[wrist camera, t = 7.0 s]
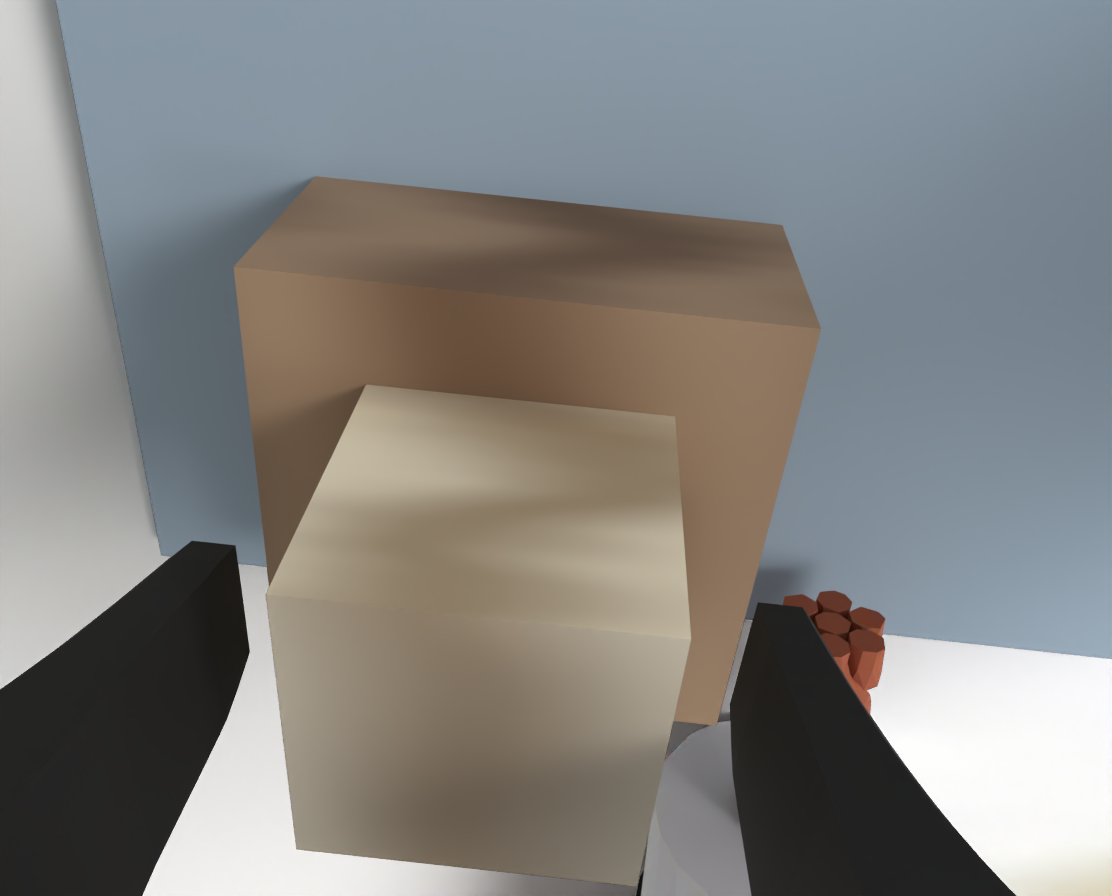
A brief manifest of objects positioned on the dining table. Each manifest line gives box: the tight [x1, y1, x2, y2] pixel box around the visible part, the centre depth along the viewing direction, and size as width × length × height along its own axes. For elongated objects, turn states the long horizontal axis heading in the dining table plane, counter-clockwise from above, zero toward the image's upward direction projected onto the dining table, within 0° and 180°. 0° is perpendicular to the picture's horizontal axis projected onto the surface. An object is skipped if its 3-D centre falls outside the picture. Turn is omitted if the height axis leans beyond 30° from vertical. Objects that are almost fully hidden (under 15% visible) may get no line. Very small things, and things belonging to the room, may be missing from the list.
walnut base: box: [234, 176, 821, 726], centre depth 17 cm, size 8×8×4 cm
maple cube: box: [266, 385, 691, 887], centre depth 13 cm, size 4×4×4 cm
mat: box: [56, 0, 1112, 659], centre depth 16 cm, size 22×20×1 cm
